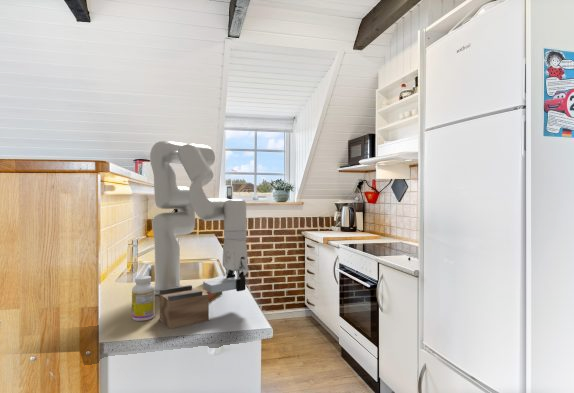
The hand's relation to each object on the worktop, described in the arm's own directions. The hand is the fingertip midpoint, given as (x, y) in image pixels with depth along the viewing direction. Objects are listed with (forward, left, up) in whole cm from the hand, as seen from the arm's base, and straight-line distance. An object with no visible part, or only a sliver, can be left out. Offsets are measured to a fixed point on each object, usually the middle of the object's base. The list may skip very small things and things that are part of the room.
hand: (235, 287), depth 120 cm
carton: (-18, -4, -8) cm, 20 cm away
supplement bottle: (-9, -28, -7) cm, 30 cm away
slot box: (0, -18, -7) cm, 19 cm away
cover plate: (0, -4, +1) cm, 4 cm away
